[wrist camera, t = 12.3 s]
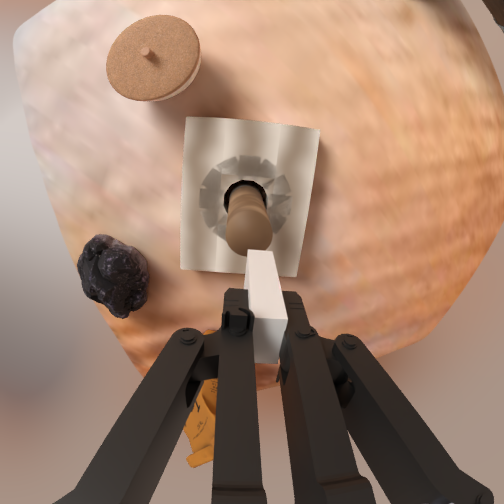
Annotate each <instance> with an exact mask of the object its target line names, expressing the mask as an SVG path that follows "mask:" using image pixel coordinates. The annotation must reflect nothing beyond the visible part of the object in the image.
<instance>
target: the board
mask: <svg viewBox="0 0 504 504" xmlns="http://www.w3.org/2000/svg"><path fill="white" fill-rule="evenodd" d="M319 136H320V130H317V129H312V128H306V127H299V126H293V125H286V124H278V123H271V122H262V121H252V120H242V119H229V118H213V117H186V123H185V136H184V150H183V166H182V188H181V225H180V268H181V269H186V270H199V271H211V272H225V273H239V274H245V272H246V263H247V257H245V256H241V255H238V254H237V253H235V252H234V251H232V250H231V249H230V247H229V246H228V244H227V242H226V237H225V233H226V225H227V216H228V208H229V207H228V205H227V203H226V201H225V192H226V191H227V189H228V188H229V187H230V185H231V184H233V183H236V182H238V181H240V180H251V181H255V182H256V183H258V184H259V185H261V186H262V187H264V190H265V192H266V193H265V201H264V206H265V209H266V212H267V215H268V218H269V221H270V224H271V227H272V231H273V238H272V242H271V244H270V246H269V247H268V248H267V249H266V250H265V251H273V256H274V260H275V264H276V269H277V273H278V276H284V277H296V276H297V271H298V266H299V260H300V255H301V250H302V244H303V239H304V233H305V228H306V222H307V216H308V210H309V204H310V198H311V192H312V185H313V179H314V172H315V165H316V158H317V151H318V144H319Z"/></svg>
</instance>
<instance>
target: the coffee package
mask: <svg viewBox="0 0 504 504" xmlns="http://www.w3.org/2000/svg"><path fill="white" fill-rule="evenodd" d="M214 332H216V331H213V330H207V331H206V332H205V333H204V334H203V335H207V334H211V333H214ZM217 383H218V378H215V379H209V380H204V384H203V386H202V388H201V390H200V392H199V395H198V397H197V399H196V401H195V404H194V406H193V408H192V410H191V412H190V415H189V417H188V419H187V421H186V423H185V426H184V428H183V430H184V432H185V433H186V435H187V437H188V438H189V441H190V445H191V448H192V451H193V452H194V453H193V454H191V455H189V456H188V457H187V458H186V460H187V462H188V463H189V465H190V466H191V467H193V468H195V467H197V466H200V465H202V464H204V463H207V462H209V461H212V460H213V457H214V435H215V416H216V399H217Z"/></svg>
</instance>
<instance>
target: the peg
mask: <svg viewBox="0 0 504 504" xmlns="http://www.w3.org/2000/svg"><path fill="white" fill-rule="evenodd" d="M225 237H226V242H227V244H228V246H229V247H230V249H231V250H232V251H234V252H235V253H237V254H238V255H241V256H245V257H247V253H248V249H250V250H262V251H265V250H266V249H267V248H268V247H269V246H270V244H271V242H272V238H273V231H272V227H271V224H270V221H269V218H268V215H267V212H266V209H265V206H264V203H263V200H262V196H261V194H260V191H259V189H258V188H257V187H256V186H255V185H254V184H252V183H249V182H242V183H239V184H237V185H236V186H234V188H233V189H232V191H231V193H230V198H229V208H228V216H227V225H226V233H225Z"/></svg>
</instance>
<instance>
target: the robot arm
mask: <svg viewBox="0 0 504 504" xmlns="http://www.w3.org/2000/svg"><path fill="white" fill-rule="evenodd" d="M482 1H483V2H484V4H485V5H486V7H487V8H488V10H489V11H490V13H491V14H492V15H493V18H494V21H495V22H496V23H497V25H498V26H499V27H500V28H501V29H502V31H503V33H504V0H482ZM304 309H305V308H304V305H303V302H302V299H301V297H300V296H299V295H298V294H297V293H296V292H292V291H282V290H281V286H280V282H279V277H278V273H277V269H276V264H275V260H274V256H273V251H262V250H250V249H248V253H247V263H246V272H245V282H244V289H235V288H229V289H228V290H227V291H226V292H225V294H224V306H223V313H222V324H221V327H220V329H219V330H217V331H216V332H214V333H211V334H207V335H203V334H202V333H201V332H200V331H198V330H196V329H193V328H182V329H179V330H177V331H176V332H175V333H174V334H173V335H172V336H171V338H170V339H169V341H168V342H167V344H166V345H165V347H164V348H163V350H162V351H161V353H160V354H159V356H158V357H157V359H156V360H155V362H154V364H153V365H152V367H151V368H150V370H149V371H148V373H147V374H146V376H145V377H144V379H143V380H142V382H141V384H140V385H139V387H138V388H137V390H136V391H135V393H134V394H133V396H132V397H131V399H130V401H129V402H128V404H127V405H126V407H125V409H124V410H123V412H122V413H121V415H120V416H119V418H118V419H117V421H116V423H115V424H114V426H113V427H112V429H111V431H110V432H109V434H108V435H107V437H106V438H105V440H104V442H103V444H102V445H101V446H100V448H99V450H98V451H97V453H96V455H95V456H94V458H93V459H92V461H91V463H90V464H89V466H88V468H87V469H86V471H85V472H84V474H83V476H82V477H81V479H80V481H79V482H78V484H77V486H76V488H75V489H74V490H73V491H71V492H70V493H68V494H67V495H65V496H64V497H62V498H61V499H59V500H58V501H56V502H55V503H53V504H149V502H150V500H151V497H152V495H153V493H154V491H155V489H156V487H157V485H158V482H159V480H160V478H161V476H162V474H163V472H164V469H165V467H166V465H167V463H168V460H169V458H170V456H171V454H172V452H173V450H174V448H175V445H176V443H177V441H178V439H179V437H180V434H181V432H182V430H183V428H184V426H185V423H186V421H187V419H188V417H189V415H190V412H191V410H192V408H193V406H194V404H195V401H196V399H197V397H198V395H199V392H200V390H201V388H202V386H203V384H204V380H209V379H215V378H218V383H217V399H216V416H215V435H214V457H213V483H212V502H211V504H267V498H266V493H265V490H264V488H263V485H262V471H261V457H260V441H259V425H258V409H257V393H256V377H255V363H268V364H278V360H279V358H280V367H279V371H278V375H277V378H276V382H278V381H279V379H280V386H281V394H282V401H283V409H284V416H285V425H286V432H287V440H288V448H289V456H290V464H291V472H292V480H293V488H294V495H295V496H294V497H295V504H376V501H375V498H374V493H373V490H372V486H371V484H370V482H369V480H368V479H367V478H366V477H363V476H361V475H360V474H359V472H358V469H357V465H356V461H355V457H354V453H353V450H352V446H351V442H350V439H349V435H348V432H349V434H350V435H351V437H352V439H353V440H354V442H355V444H356V445H357V447H358V449H359V451H360V452H361V454H362V456H363V457H364V459H365V461H366V462H367V464H368V466H369V467H370V469H371V471H372V472H373V474H374V476H375V478H376V479H377V481H378V483H379V484H380V486H381V488H382V489H383V491H384V493H385V494H386V496H387V498H388V499H389V501H390V503H391V504H494V496H493V493H492V492H491V491H490V489H488V488H487V487H485V486H484V485H482V484H481V483H479V482H478V481H476V480H475V479H473V478H472V477H470V476H469V475H467V474H465V473H464V472H463V471H461V470H459V468H458V467H457V466H456V464H455V463H454V461H453V460H452V459H451V457H450V456H449V454H448V453H447V452H446V450H445V449H444V448H443V446H442V445H441V443H440V442H439V441H438V439H437V438H436V437H435V435H434V434H433V433H432V431H431V430H430V428H429V427H428V426H427V425H426V423H425V422H424V420H423V419H422V418H421V416H420V415H419V414H418V413H417V411H416V410H415V409H414V407H413V406H412V405H411V403H410V402H409V401H408V399H407V398H406V397H405V396H404V394H403V393H402V392H401V390H400V389H399V388H398V386H397V385H396V384H395V383H394V381H393V380H392V379H391V378H390V376H389V375H388V374H387V372H386V371H385V370H384V369H383V367H382V366H381V365H380V364H379V362H378V361H377V360H376V359H375V357H374V356H373V355H372V354H371V352H370V351H369V350H368V349H367V347H366V346H365V345H364V344H363V342H362V341H361V340H360V339H359V338H358V337H356V336H354V335H351V334H341V335H338V336H337V338H336V339H335V340H331V339H326V338H323V337H320V336H319V335H318V333H317V331H316V330H315V329H314V328H313V327H311V326H310V324H309V321H308V318H307V315H306V311H305V310H304ZM347 430H348V431H347Z"/></svg>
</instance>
